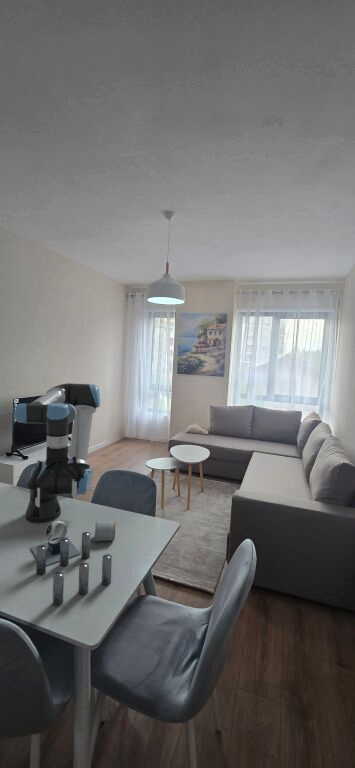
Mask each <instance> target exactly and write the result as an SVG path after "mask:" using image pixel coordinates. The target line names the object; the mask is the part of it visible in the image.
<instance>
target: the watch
mask: <svg viewBox="0 0 355 768" xmlns="http://www.w3.org/2000/svg"><path fill="white" fill-rule="evenodd" d="M60 524H61V525H64V527H63V530H62V532H61V534H60V536H59V537H55V538H52V537H53V535H54V534H55V532H56V531H55V530H56V527H58V525H60ZM67 533H68V526H67V524H66V523H65V522H64V521H62V520H53V521H51V522H50V523H49V524H48V525H47V526H46V527H45V529H44V537H45V539H46V541H47V542H48V549H49V551H50V552H51V554H52V555H56V554H59V553H60V540H61V539H64V538H65V537H67V536H66V535H67ZM51 538H52V539H51Z"/></svg>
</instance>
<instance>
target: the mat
mask: <svg viewBox="0 0 355 768" xmlns="http://www.w3.org/2000/svg"><path fill="white" fill-rule="evenodd" d="M65 538H68V539H69V537H68V536H65ZM40 545H45V546H46V567H49V566H52V565H54V564H57V563H60V553H59V554H56V555H52V554H51V552H50V551H49V549H48V541H47V542H44V543H41V544H37V545H34V546H32V547H30V550H31V552H32V553H33V555H34V556H35V558H36V556H37V547H38V546H40ZM77 556H81V553H80V551H79V550H78V548H76V546H75V545H74V544H73V542H72V541H71V540H70V539H69V559H72V558H75V557H77Z"/></svg>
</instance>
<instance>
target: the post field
mask: <svg viewBox="0 0 355 768" xmlns="http://www.w3.org/2000/svg"><path fill="white" fill-rule="evenodd" d="M69 540H70V539H69V537H68V538H64V539H61V540H60V562H59V567H61V568H66V567H68V566H69V564H70V563H69V562H70V558H69ZM39 545H40V544H39ZM80 556H81V559H82V560H84V561H85V560H88V559H90V556H91V532H90V531H84V532H82V534H81V553H80ZM35 558H36V559H35V560H36V562H35V565H36V566H35V567H36V569H35V570H36V571H35V573H36V576H40V577H41V576H44V575H45V574H46V571H47V569H46V567H47V566H46V546H45V545H40V546H38V547H37V556H36V557H35ZM112 560H113V556H112V554H110V553H108V554H104V555H103V556H102V563H101V564H102V565H101V566H102V567H101V568H102V569H101V585H102V586H105V587H106V586H109V585H111V584H112V563H113V562H112ZM78 565H79V566H78V590H77V591H78V592H77V593H78V595H79V596H83V597H84V596H87V595H88V593H89V580H90V578H89V576H90V575H89V573H90V572H89V571H90V564H89V563H88V562H86V561H85V562H82V563H80V564H78ZM64 579H65V573H64V571H56V572H54V573H53V575H52V605H53V607H60V606H62V605H63V604H64V583H65V580H64Z"/></svg>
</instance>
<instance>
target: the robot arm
mask: <svg viewBox="0 0 355 768" xmlns="http://www.w3.org/2000/svg"><path fill="white" fill-rule="evenodd" d="M99 388H100V387H99V386H98V385H97V384H90V383H71V382H69V383H62V384H58V385H55V386H52V387H51V388H49V389H48V390H46V392H45V394H42V395H41V396H40V397H38V398H37V399H35V400H34V401H32V402H30V403H26V402H25V403H18V404H17V406H16V407H15V408H14V409H15V410H14V419H15V421H16V422H17V423H20V424H21V423H22V424H43V425H44V424H46V443H45V444H46V446H47V447H45V448H46V455H45V456H46V457H45V460H43V461H42V460H39V459H38V460H37V461H36V466H34V467H33V468H32V469H31V471H30V474H29V475H30V477H29V480H28V483H27V485H26V486H27V488H28V489H29V502H28V505H27V507H26V510H25V520H26V521H27V522H30V523H34V524H43V523H44V524H45V523H49V522H50V523H51V522H54V521H56V519H58V518H59V517H60V516H61V514H62V510H61V509H62V507H61V505H60V502H59V498H58V495H70V496H71V497H72V498H73V499H77V496H78V495H79V496H80V495H82V496H83V495H86V494H87V493H88V491H89V489H90V486H91V483H92V479H93V469H92V468H91V466H90V463H89V462H88V457H89V454H88V453H89V445H90V438H91V430H92V421H93V420H92V419H93V414H94V413H96V412H97V408H100V406H101V393H100V389H99ZM71 423H73V424H72V430H71V436H70V445H69V424H71ZM68 445H69V446H68Z"/></svg>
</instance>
